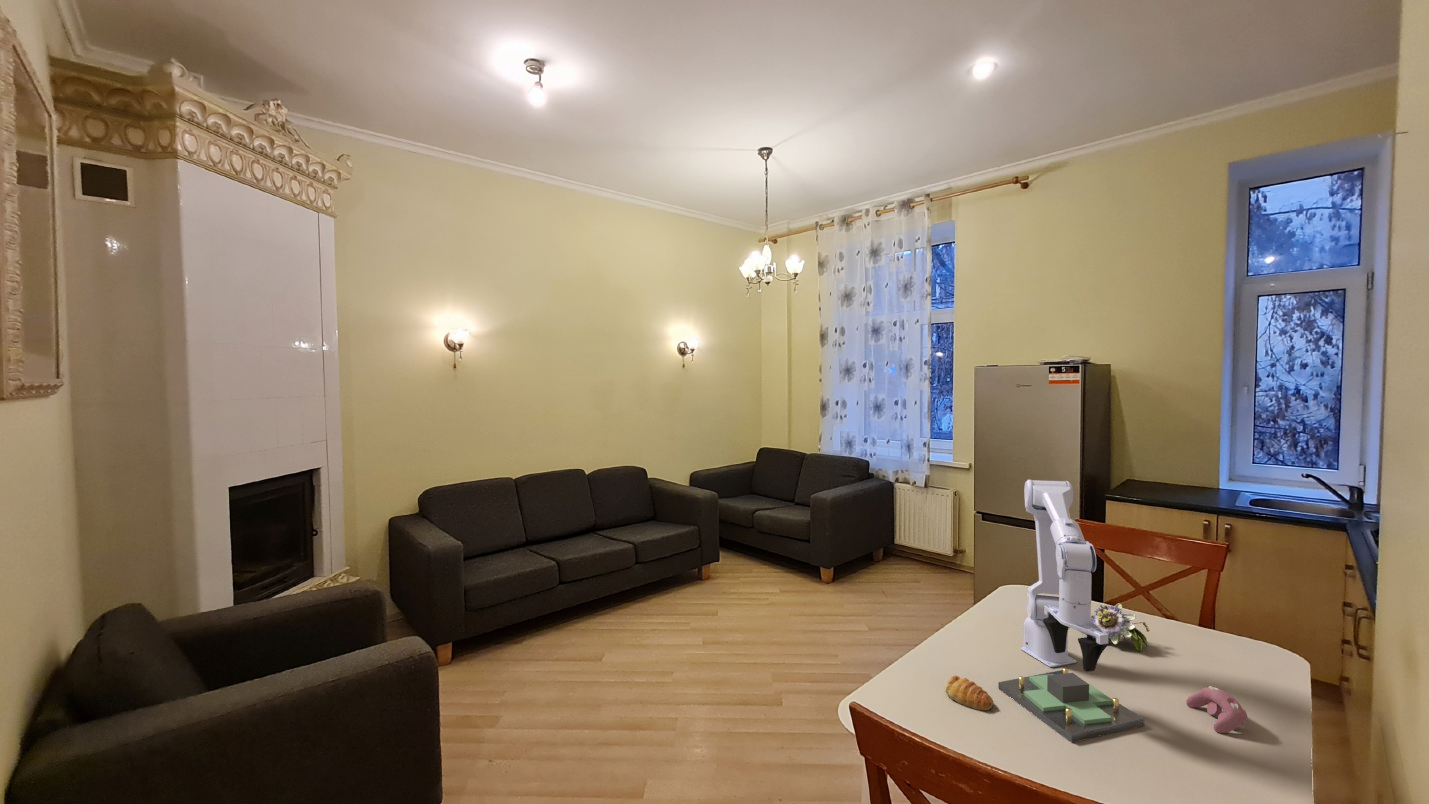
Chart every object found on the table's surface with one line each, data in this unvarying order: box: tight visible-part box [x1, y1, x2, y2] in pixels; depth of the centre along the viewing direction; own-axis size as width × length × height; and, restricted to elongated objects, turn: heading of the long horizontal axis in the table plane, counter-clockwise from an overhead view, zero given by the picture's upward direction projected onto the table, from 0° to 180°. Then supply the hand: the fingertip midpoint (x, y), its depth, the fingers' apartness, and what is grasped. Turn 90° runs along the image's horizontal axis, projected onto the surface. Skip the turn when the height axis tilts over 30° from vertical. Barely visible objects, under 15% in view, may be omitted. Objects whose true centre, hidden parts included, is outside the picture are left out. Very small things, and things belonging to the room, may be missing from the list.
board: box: [1024, 672, 1113, 724], centre depth 118 cm, size 16×16×4 cm
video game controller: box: [1185, 685, 1248, 734], centre depth 113 cm, size 10×5×7 cm, turn 170°
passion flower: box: [1091, 602, 1150, 653], centre depth 145 cm, size 11×11×12 cm
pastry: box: [944, 675, 994, 711], centre depth 121 cm, size 9×7×4 cm
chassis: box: [997, 667, 1145, 743], centre depth 118 cm, size 19×18×4 cm
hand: (1074, 660), depth 119 cm, fingers open, 7 cm apart
